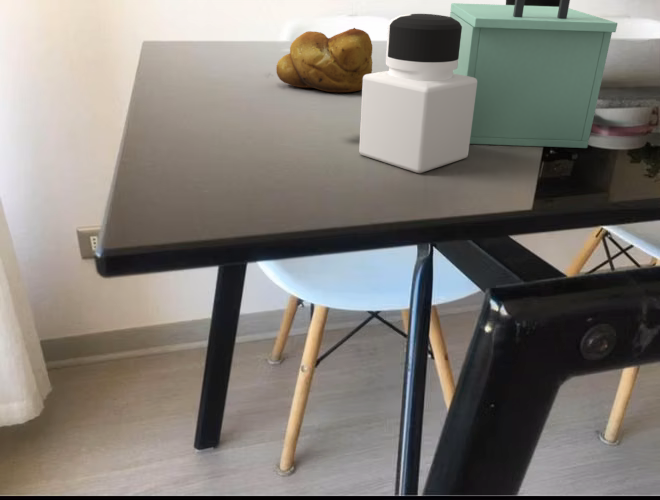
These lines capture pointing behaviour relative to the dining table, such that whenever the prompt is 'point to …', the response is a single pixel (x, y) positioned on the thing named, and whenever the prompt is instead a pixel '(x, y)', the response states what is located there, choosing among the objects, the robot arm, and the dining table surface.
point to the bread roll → (328, 61)
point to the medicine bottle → (418, 97)
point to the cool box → (532, 84)
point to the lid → (531, 17)
